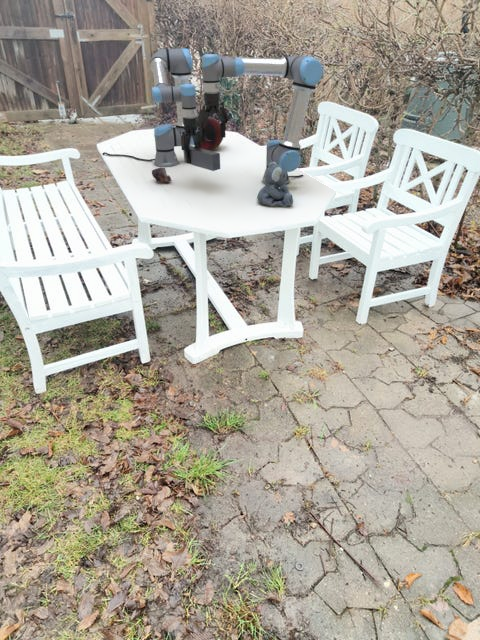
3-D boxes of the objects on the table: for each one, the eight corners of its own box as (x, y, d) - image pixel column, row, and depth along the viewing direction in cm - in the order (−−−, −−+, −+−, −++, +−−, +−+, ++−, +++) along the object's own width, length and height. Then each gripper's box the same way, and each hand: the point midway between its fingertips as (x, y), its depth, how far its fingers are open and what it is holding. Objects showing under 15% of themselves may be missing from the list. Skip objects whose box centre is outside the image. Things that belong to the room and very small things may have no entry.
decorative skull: (189, 124, 329) (187, 120, 305) (221, 116, 328) (220, 113, 305) (196, 154, 336) (194, 153, 312) (227, 147, 335) (227, 145, 311)
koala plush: (294, 207, 227) (296, 168, 215) (258, 208, 226) (259, 169, 214) (288, 196, 241) (290, 158, 230) (255, 197, 240) (255, 159, 229)
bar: (184, 162, 252) (183, 147, 247) (191, 160, 255) (190, 145, 250) (213, 171, 239) (212, 155, 234) (220, 169, 242) (219, 153, 237)
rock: (166, 180, 269) (150, 182, 265) (164, 165, 265) (148, 167, 261) (173, 182, 260) (156, 184, 256) (171, 166, 256) (154, 169, 252)
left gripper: (181, 120, 230) (184, 166, 243) (207, 115, 241) (209, 159, 254) (171, 118, 234) (175, 164, 248) (197, 113, 245) (200, 157, 258)
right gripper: (197, 96, 202) (200, 145, 215) (235, 90, 217) (236, 136, 229) (186, 94, 207) (189, 142, 219) (224, 88, 222) (225, 134, 234)
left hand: (192, 161), depth 251 cm, fingers closed on bar, 5 cm apart
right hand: (213, 139), depth 224 cm, fingers open, 13 cm apart
